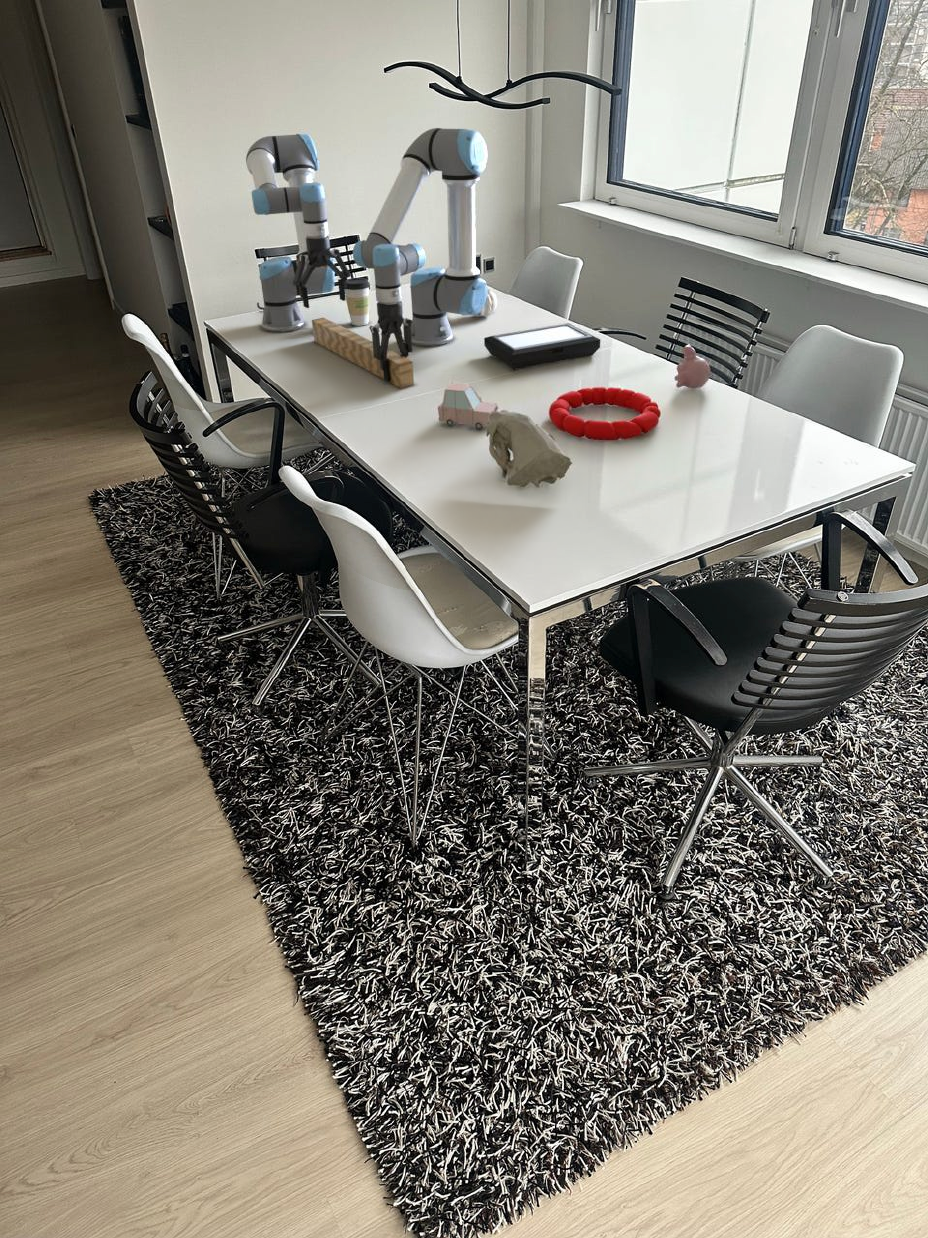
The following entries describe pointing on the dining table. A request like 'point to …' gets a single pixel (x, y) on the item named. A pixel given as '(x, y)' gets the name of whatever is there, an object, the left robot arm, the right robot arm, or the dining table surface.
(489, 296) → the seashell
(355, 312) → the coffee cup
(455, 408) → the toy car
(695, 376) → the figurine
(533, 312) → the dining table surface
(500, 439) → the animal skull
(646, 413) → the decorative ring
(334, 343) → the bar
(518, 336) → the electronic device
